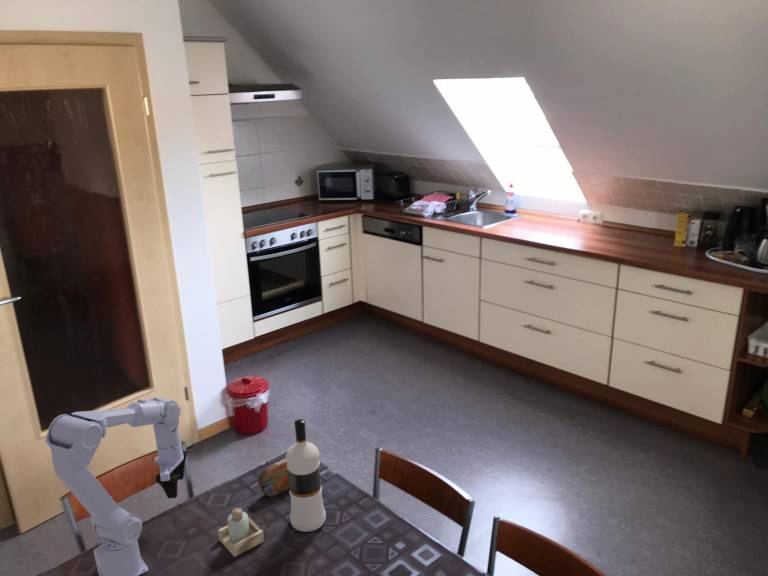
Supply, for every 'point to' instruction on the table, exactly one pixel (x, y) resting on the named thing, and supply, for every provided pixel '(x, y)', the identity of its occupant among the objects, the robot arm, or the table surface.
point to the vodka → (305, 483)
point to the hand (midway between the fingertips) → (175, 488)
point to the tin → (274, 478)
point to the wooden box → (245, 544)
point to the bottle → (238, 525)
